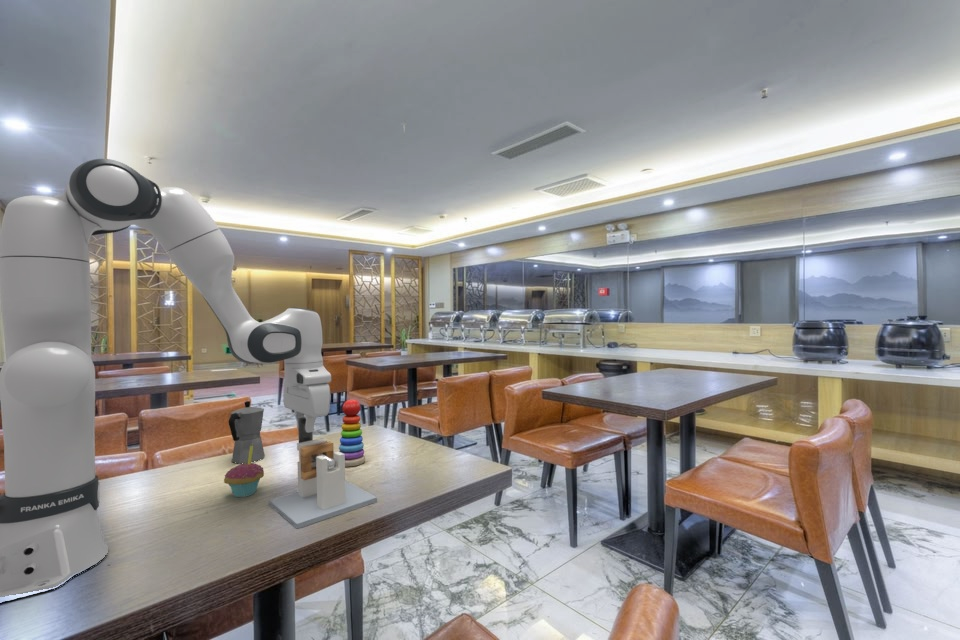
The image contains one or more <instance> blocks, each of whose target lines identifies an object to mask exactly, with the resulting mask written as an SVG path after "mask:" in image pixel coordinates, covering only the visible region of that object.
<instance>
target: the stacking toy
mask: <svg viewBox="0 0 960 640" xmlns="http://www.w3.org/2000/svg"><path fill="white" fill-rule="evenodd" d="M360 411H361V404H360V402H359V401H358V400H357V399H354V398H352V399H347V400H346V401H344V402H343V405H342V412H343V414H344V416H343V417H342V422H343V423H341V424H342V425H341V429H342V430H341V431H340V436H341V437H340V439H339V443H340V444H339V446H338V449H339V450H338V452H341V453H343V454H345V468H346V467H347V468H348V467H349V468H350V467H355V466H360V465H362V464H363V463H365V460H366V456H365V455H364V454H365V450H364V447H365V446H364V445H365V444H364V441H363V439H364V438H363V436H362V434H363V430H362V429H361V427H362V425H361V422H360V421H361V416H360V415H358V414H359V413H360Z"/></svg>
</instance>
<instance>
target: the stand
mask: <svg viewBox="0 0 960 640" xmlns="http://www.w3.org/2000/svg"><path fill="white" fill-rule="evenodd" d="M325 442H328V440H327V439H325V438H317V439H313V440H311V441H306V442H301V443H299V442H297V443H296V449H297V452H298V461H297V492H293V493H288V494H286V495H282V496H279V497H278V496H277V497H276V498H275V497H274V498H271V499H268V505H269V506H270V507H271V508H272V509H274V510H275V511H276V512H277V513H278V514H280V515H281V516H282V517H283V518H284V519H285V520H286V521H288V523H289V524H291V525H292V526H293V527H294V528H295V529H301V528H304V527H308V526H310V525H313V524H316V523H319V522H322V521H324V520H325V521H326V520H328V519H330V518H333V517H335V516H339V515H342V514H345V513H348V512H350V511H354V510H357V509H359V508H364V507H366V506H368V505H371V504H372V505H373V504H374V503H377V502H378V497H377V496H375V495H374V494H372V493H370V492H368V491H366V490H364V489H362V488H361V487H360V486H357V485H355V484H353V483H351V482H349V481H348V480H346V467H345V454H343V453H341V452H339V451H336V452H334V460H335V461H336V462H337V466H336V467H335V468H334V469H329V468H327V458H325V457H323V456H317V457H316V461H314V460H312V459H311V465H312V468H314V467H316V472H317V477H315V478H311V479H308V480H303V479H301V458H300V448H301V447H306V446H311V445H315V444H320V443H325ZM321 454H323V453H321Z"/></svg>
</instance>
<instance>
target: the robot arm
mask: <svg viewBox="0 0 960 640" xmlns="http://www.w3.org/2000/svg"><path fill="white" fill-rule="evenodd" d="M132 226H137V227H140V228H141V229H144V230H146V231H147V232H148V233H149V234H150V235H152V236H153V237H154V238H156V240H157V242H158V243H159V244H160V247H162V249H163V250H164V252H165V253H166V254H167V256H168V257H169V259H170V260H171V261H172V262H173V264H175V266H176V267H177V268H178V270H179V271H180V272H181V273H182V274H183V275H184V276H185V277H186V279H187V280H188V281H189V282H190V283H191V284H192V285H193V286H194V287H195V289H196V290H197V292H199V293H200V295H201V297H202V298H203V299H204V301H205V302H206V303H207V305H208V306H209V309H210V310H211V311H212V312H213V314H214V316H216V318H217V320H218V321H219V323H220V324H221V326H222V328H223V329H224V331H225V334H226V338H227V339H226V340H227V344H228V345H227V346H228V348H229V349H228V350H229V352H230V353H231V355H232V356H233V358H235V359H236V360H237V361H239V362H241V363H245V364H267V365H268V364H275V363H278V362H281V361H283V363H284V366H283V367H284V383H283V397H282V398H283V399H282V400H283V406H284V408H286V409H289V410H292V411H294V416H295V417H294V418H295V420H296V428H297V429H298V419H299V418H303V417H305V418H306V424H305V425H304V431H305V432H308V433H309V432H314V431H315V422H316V419H317V418H320V417H325V416H326V417H327V416H328V415H329V412H330V407H331V388H330V385H329V383H331V382H332V374H331V372H329V371H328V370H327V369H326V367H325V366H324V358H323V355H322V348H323V327H322V321H321V317H320V315H319V313H317V311H316V310H313V309H309V308H305V307H296V306H295V307H294V306H293V307H288V308H287V309H285V311H283V312H281V313H280V314H278V315H275V316H274V317H272V318H269V319H266V320H264V321H261V322H259V321H258V320H256V319H254V317H252V316H251V314H250V313H249V312H248V309H247V308H246V306H245V305H244V304H243V303H244V302H242V300H241V298H240V297H239V296H238V294H237V292H236V290H235V288H234V286H233V281H232V274H233V269H234V266H235V258H236V257H235V255H234V252H233V250H232V247H231V245H230V243H229V240H228V239H227V237H226V236H225V235H224V233H223V231H222V230H221V229H220V227H219V226H218V224H217V223H216V221H215V220H214V219H213V217H212V216H211V215H210V214H209V212H208V211H207V210H206V209H205V207H203V205H202V204H201V202H199V201H198V200H197V199H196V198H195V197H194V195H192V194H191V193H190V192H189V191H188V190H186V189H184V188H181V187H177V186H166V187H161V188H160V187H159V186H158V184H157V183H156V182H154V181H152V180H150V179H149V178H147V177H146V176H144V175H142V174H141V173H140V172H138V171H137V170H135V169H134V168H132V167H131V166H129V165H127V164H125V163H123V162H120V161H119V160H116V159H110V158H96V159H91V160H90V159H89V160H87V161H85V162H83V163H81V164H80V165H78V166H77V167H76V168H75V169H74V170H73V171H72V173H71V175H70V178H69V181H68V183H67V185H66V186H65V189H64V191H63V192H61V194H58V195H55V196H54V195H53V196H49V195H48V196H47V195H24V196H20V197H16V198H15V199H12V200H11V201H10V202H9V203H7V205H6V206H5V209H4V214H3V217H2V221H1V227H0V310H1V318H2V319H1V320H2V327H3V329H2V330H3V340H4V349H5V351H4V353H5V362H4V363H3V364H2V366H1V369H0V413H1V425H2V426H1V427H2V437H3V438H2V439H3V446H4V447H3V451H4V452H3V453H4V455H3V457H4V459H3V460H4V493H1V492H0V597H5V596H9V595H16V594H23V593H28V592H33V591H39V590H43V589H49V588H53V587H56V586H58V585H59V584H61V583H62V582H64V581H65V580H67V579H68V578H69V577H70V576H72V575H73V574H75V573H77V572H79V571H81V570H83V569H85V568H86V567H89V566H91V565H93V564H95V563H96V562H98V561H99V560H101V559H102V558H103V557H105V555H106V554H107V553H108V554H109V552H108V549H109V547H108V545H107V543H106V541H105V539H104V534H103V531H102V528H101V523H100V518H99V512H98V511H99V510H98V509H99V507H100V503H101V489H100V488H101V486H100V481H99V476H98V474H96V448H95V447H96V445H95V439H96V436H95V434H96V433H95V429H96V427H95V426H96V368H95V365H94V362H93V359H92V290H91V288H92V287H91V266H90V265H91V263H90V241H91V237H93V236H98V235H104V234H112V233H117V232H121V231H124V230H126V229H128V228H129V227H132ZM108 554H107V555H108ZM105 558H106V557H105Z"/></svg>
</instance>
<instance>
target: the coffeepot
mask: <svg viewBox="0 0 960 640" xmlns="http://www.w3.org/2000/svg"><path fill="white" fill-rule="evenodd" d="M243 403H244V407H242V408H238V409H237V410H233V411H231V412H230V413H229V414H230V417H229V419H228V425H229V430H230V433H231V437H232V440H233V441H234V445H233V450H232V458H231V463H233V462H236V463H248V459H249V451H250V446H251V445H252V443H253V445H252V446H253V451H252V458H251V462H253V463H255V462H254V461H256V462H258V461H257V460H259V461H261V460H260V459H262V460H263V459H264V458H265V449H264V445H263V441H262V437H261V432H262V425H263V419H264V418H263V417H264V411H265V409H264V408H262V407H257V406H256V407H255V406H253V407H252V406H250V405H251V401H248V400H246V401H244V402H243Z"/></svg>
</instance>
